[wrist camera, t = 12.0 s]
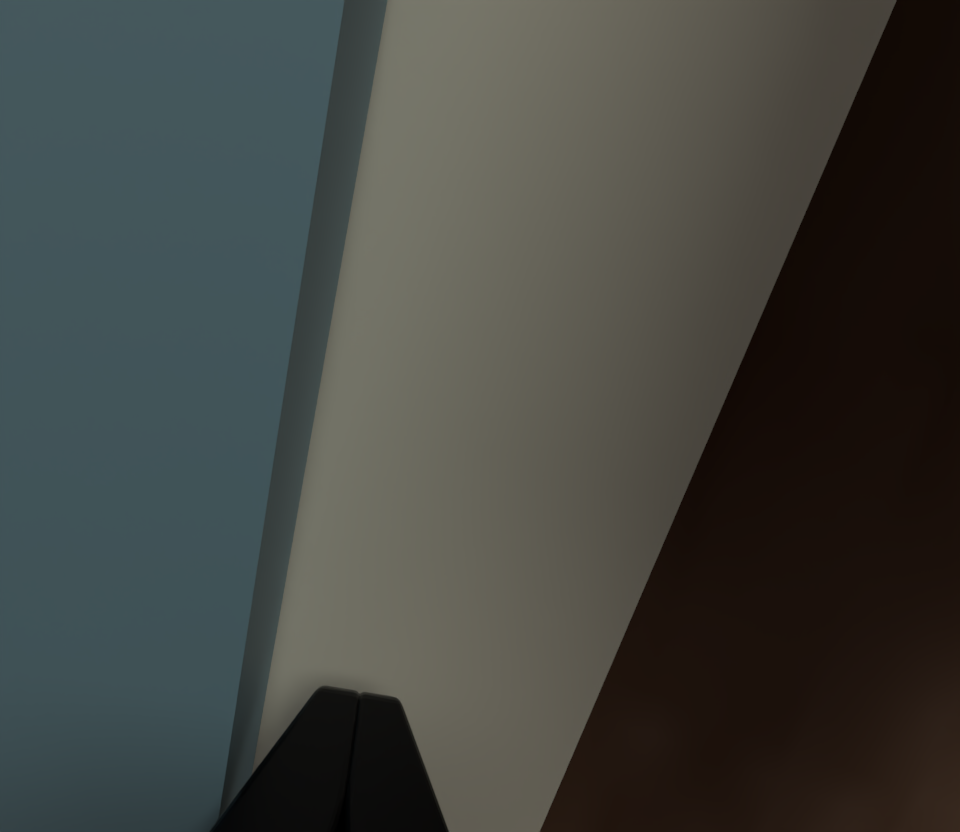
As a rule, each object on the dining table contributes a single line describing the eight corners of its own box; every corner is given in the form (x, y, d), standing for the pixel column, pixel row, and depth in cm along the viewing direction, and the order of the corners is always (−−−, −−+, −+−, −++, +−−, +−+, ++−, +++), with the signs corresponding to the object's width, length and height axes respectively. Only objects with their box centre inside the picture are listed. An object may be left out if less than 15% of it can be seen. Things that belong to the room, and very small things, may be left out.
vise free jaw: (408, -126, 6) (372, -189, 4) (217, 971, 12) (161, 1189, 10) (47, -233, 6) (-229, -369, 3) (41, 948, 12) (-56, 1170, 10)
